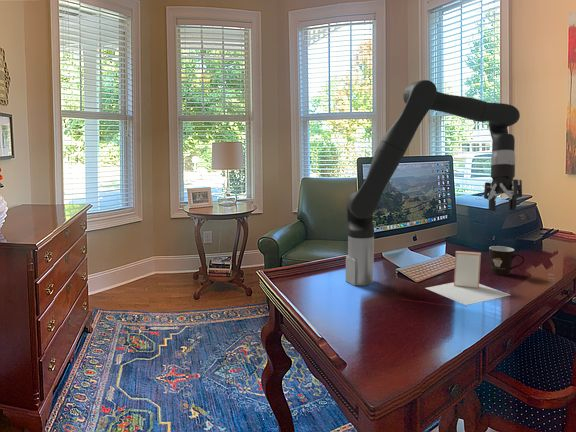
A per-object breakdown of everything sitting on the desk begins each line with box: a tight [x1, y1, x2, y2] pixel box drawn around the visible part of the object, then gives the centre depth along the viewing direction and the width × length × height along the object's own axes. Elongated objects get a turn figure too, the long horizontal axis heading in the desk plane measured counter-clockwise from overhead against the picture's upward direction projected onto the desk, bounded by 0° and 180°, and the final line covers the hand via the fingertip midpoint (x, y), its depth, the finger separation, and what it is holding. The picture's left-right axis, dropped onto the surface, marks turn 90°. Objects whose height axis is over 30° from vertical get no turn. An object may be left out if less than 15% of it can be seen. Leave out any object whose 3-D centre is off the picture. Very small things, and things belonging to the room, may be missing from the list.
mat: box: [425, 282, 511, 307], centre depth 146 cm, size 20×18×1 cm
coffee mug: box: [488, 245, 525, 277], centre depth 163 cm, size 12×9×10 cm
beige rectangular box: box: [453, 250, 482, 289], centre depth 150 cm, size 3×8×12 cm, turn 66°
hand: (501, 210), depth 151 cm, fingers open, 8 cm apart
